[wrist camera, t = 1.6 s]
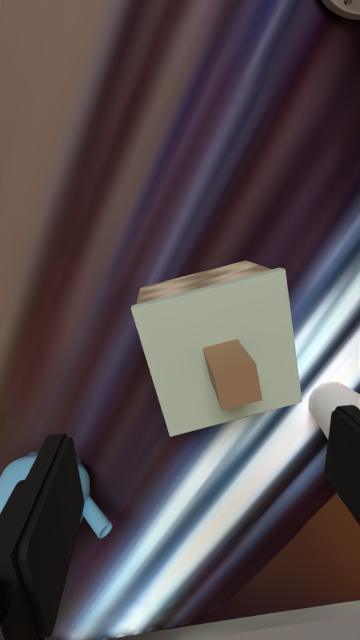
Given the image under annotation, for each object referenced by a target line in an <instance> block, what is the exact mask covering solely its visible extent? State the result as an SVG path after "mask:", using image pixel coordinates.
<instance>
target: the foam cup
mask: <svg viewBox="0 0 360 640" xmlns="http://www.w3.org/2000/svg"><path fill="white" fill-rule="evenodd" d="M344 405H355V406H356V407H358V408H359V409H360V394H358V393H356V392H355V391H353V390H351V389H349V388H348V387H346V386H344V385H343V384H340V383H339V382H332V381H329V382H326V383H323V384H320V385H319V386H318V387H317V388H315V389H314V390H313V392H312V393H311V395H310V397H309V404H308V406H309V408H310V410H311V412H312V414H313V416H314V417H315V419H316V421H317V422H318V424H319V426H320V427H321V429H322V430H323V432H324V434H325V435H326V437H327V439H328V437H329V428H330V420H331V413H332V411H335V408H336V407H337V406H344Z"/></svg>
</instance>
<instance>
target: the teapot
mask: <svg viewBox="0 0 360 640" xmlns="http://www.w3.org/2000/svg"><path fill="white" fill-rule="evenodd" d="M38 453H39V452H36V451H34V452H30V453H29V454H28V456H25V457H22V458H19V459H17V460H15V461H13V462H12V463H10V464H9V465H8V466H7V467H6V468H5V470H4V472H3V473H2V475H1V477H0V513H1V511H2V509H3V508H4V506H5V504H6V502H7V500H8V498H9V496H10V495H11V493H12V491H13V489H14V487H15V486H16V484H17V483H18V482H19V481H20V480H25V479H26V477H27V475H28V473H29V471H30V469H31V467H32V465H33V463H34V461H35V459H36V457H37V455H38ZM76 458H77V463H78V469H79V474H80V479H81V484H82V490H83V495H84V508H83V513H82V517H81V520H82V518H83V516H84V518H85V519H86V520H87V522H88V523H89V525H90V526H91V527H92V529H93V530H94V532H95V533H96V534H97V536H98V537H99V538H103V537H105V536H106V535H107V534H108V533H109V532H110V530H111V528H112V524H111V522H110V521H109V520H108V519H107V517H106V516H105V515H104V514H103V512H102V511H101V510H100V509H99V507H98V506H97V505H96V504H95V502H94V501H93V500H92V499H91V497H90V496H89V494H90V481H89V475H88V473H87V471H86V469H85V467H84V466H83V465H82V464H81V459H80V458H79V457H78V456H76ZM80 522H81V521H80Z"/></svg>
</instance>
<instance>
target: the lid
mask: <svg viewBox="0 0 360 640" xmlns="http://www.w3.org/2000/svg"><path fill="white" fill-rule="evenodd" d="M131 310H132V313H133V317H134V320H135V323H136V327H137V330H138V333H139V336H140V340H141V343H142V346H143V349H144V353H145V356H146V359H147V363H148V366H149V369H150V372H151V376H152V379H153V382H154V385H155V389H156V392H157V395H158V399H159V402H160V405H161V408H162V412H163V415H164V418H165V421H166V425H167V428H168V431H169V434H170V437H171V436H175V435H178V434H182V433H186V432H190V431H194V430H197V429H201V428H205V427H209V426H213V425H217V424H220V423H224V422H228V421H232V420H236V419H239V418H243V417H247V416H251V415H255V414H258V413H262V412H266V411H270V410H274V409H278V408H281V407H285V406H289V405H293V404H297V403H300V402H302V398H301V390H300V382H299V374H298V367H297V359H296V351H295V343H294V335H293V327H292V319H291V312H290V304H289V296H288V288H287V280H286V272H285V269H282V268H277V269H273V270H269V271H265V272H261V273H257V274H253V275H249V276H245V277H242V278H238V279H234V280H230V281H226V282H222V283H218V284H214V285H210V286H206V287H203V288H199V289H195V290H191V291H187V292H183V293H179V294H175V295H171V296H168V297H164V298H160V299H156V300H152V301H148V302H144V303H140V304H136V305H133V306H132V307H131Z"/></svg>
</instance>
